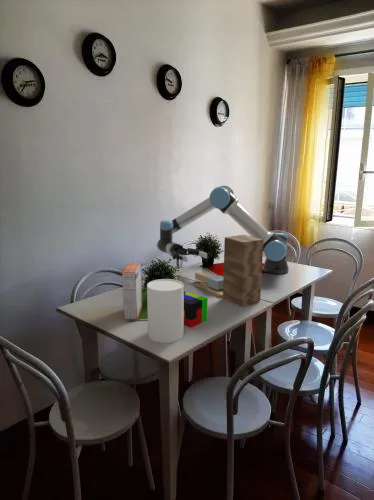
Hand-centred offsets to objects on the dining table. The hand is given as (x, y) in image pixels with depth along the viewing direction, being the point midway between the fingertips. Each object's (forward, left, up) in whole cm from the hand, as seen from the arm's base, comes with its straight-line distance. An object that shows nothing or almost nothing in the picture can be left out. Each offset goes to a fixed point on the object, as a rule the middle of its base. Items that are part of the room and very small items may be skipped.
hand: (196, 257), depth 206 cm
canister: (+49, +47, -13) cm, 69 cm away
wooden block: (0, +36, -13) cm, 38 cm away
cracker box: (+50, +22, -13) cm, 56 cm away
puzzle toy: (+34, +42, -13) cm, 55 cm away
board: (0, +18, -13) cm, 22 cm away
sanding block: (0, +12, -12) cm, 17 cm away
